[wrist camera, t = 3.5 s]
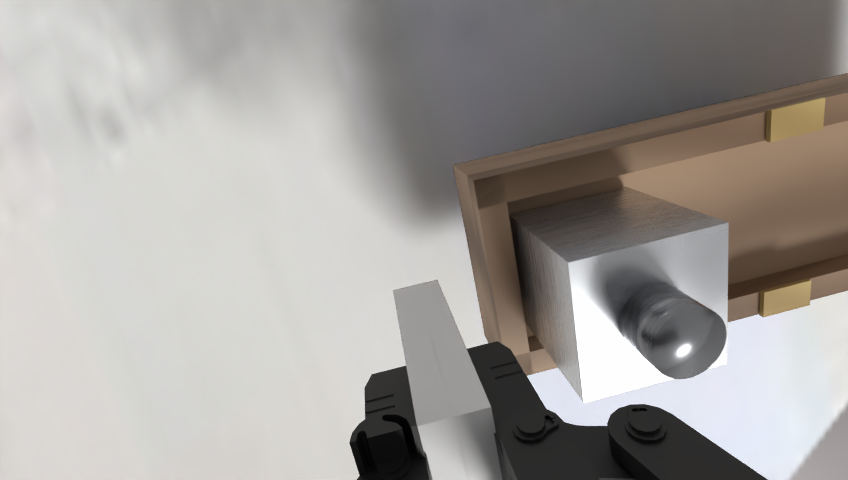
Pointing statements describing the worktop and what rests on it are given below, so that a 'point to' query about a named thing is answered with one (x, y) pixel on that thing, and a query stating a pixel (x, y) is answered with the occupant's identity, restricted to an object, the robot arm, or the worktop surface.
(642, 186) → the beam
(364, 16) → the worktop surface
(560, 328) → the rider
